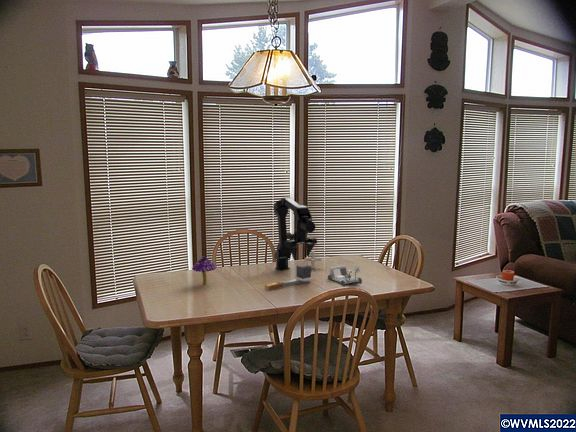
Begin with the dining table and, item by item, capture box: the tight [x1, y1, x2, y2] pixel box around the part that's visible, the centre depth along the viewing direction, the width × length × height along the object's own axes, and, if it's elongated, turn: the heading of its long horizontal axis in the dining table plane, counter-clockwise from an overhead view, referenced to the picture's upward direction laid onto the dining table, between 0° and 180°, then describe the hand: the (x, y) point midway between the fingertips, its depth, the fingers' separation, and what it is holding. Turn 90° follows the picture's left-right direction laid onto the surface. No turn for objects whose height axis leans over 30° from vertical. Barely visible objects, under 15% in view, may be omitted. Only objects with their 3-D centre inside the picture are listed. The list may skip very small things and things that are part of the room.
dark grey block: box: [295, 263, 312, 279], centre depth 242 cm, size 5×5×6 cm
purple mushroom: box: [191, 256, 217, 286], centre depth 237 cm, size 12×12×15 cm
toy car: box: [327, 265, 363, 287], centre depth 242 cm, size 18×10×12 cm
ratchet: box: [264, 276, 311, 291], centre depth 236 cm, size 28×7×6 cm, turn 128°
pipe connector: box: [303, 250, 322, 269], centre depth 272 cm, size 10×10×10 cm
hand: (300, 257), depth 248 cm, fingers open, 9 cm apart
